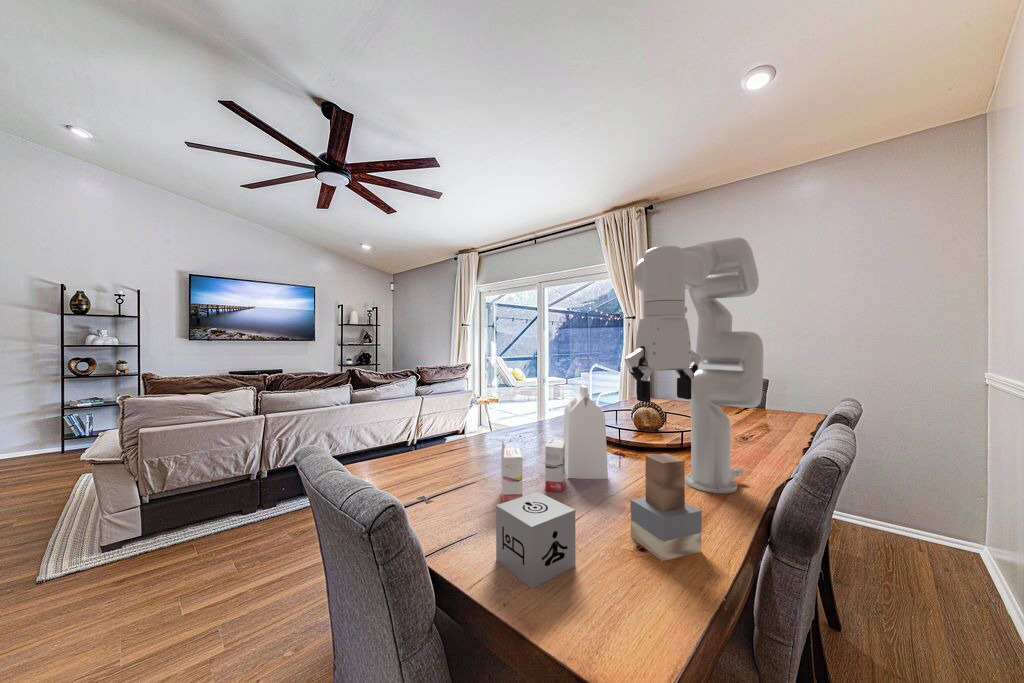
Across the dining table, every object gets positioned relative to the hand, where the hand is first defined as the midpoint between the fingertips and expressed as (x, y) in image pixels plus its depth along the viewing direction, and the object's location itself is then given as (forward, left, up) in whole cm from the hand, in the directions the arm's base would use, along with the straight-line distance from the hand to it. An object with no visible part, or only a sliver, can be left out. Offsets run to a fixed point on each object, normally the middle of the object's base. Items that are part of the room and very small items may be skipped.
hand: (664, 399), depth 73 cm
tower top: (0, 0, -24) cm, 24 cm away
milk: (-6, -41, -28) cm, 50 cm away
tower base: (0, 0, -28) cm, 28 cm away
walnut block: (0, 0, -20) cm, 20 cm away
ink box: (+7, -34, -28) cm, 45 cm away
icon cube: (+26, -3, -28) cm, 39 cm away
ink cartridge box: (+21, -30, -28) cm, 46 cm away
